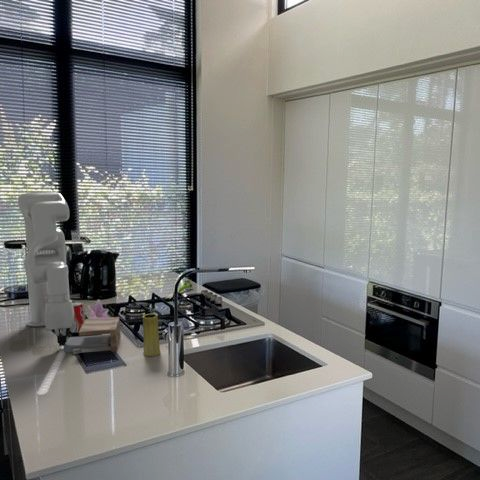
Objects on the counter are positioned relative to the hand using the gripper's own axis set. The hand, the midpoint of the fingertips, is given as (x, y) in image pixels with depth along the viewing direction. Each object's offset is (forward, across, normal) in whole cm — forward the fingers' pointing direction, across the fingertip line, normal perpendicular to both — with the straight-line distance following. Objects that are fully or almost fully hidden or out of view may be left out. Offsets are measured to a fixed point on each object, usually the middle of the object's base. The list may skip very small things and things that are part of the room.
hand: (62, 344), depth 173 cm
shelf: (+1, +13, 0) cm, 13 cm away
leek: (+2, +47, +74) cm, 88 cm away
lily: (+2, +9, +29) cm, 31 cm away
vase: (+2, +34, -13) cm, 36 cm away
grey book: (+1, +10, 0) cm, 10 cm away
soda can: (+2, +2, +20) cm, 20 cm away
